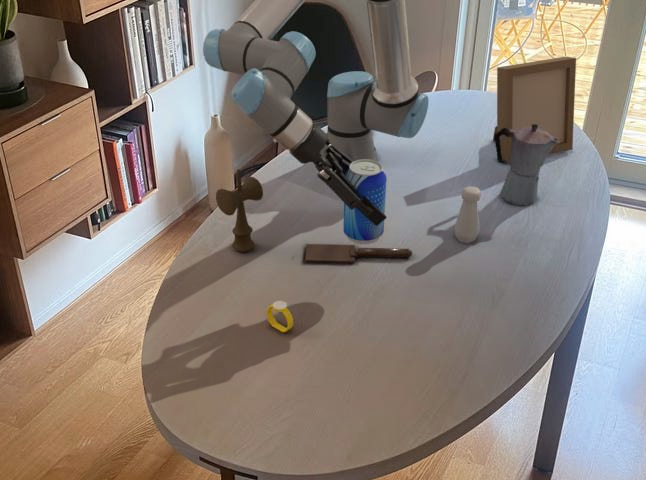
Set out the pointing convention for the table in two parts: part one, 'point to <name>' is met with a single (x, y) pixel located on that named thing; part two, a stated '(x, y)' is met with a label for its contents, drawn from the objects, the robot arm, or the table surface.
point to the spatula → (348, 253)
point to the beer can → (373, 187)
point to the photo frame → (537, 100)
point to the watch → (282, 307)
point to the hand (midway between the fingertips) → (380, 209)
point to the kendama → (240, 209)
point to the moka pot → (524, 162)
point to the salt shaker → (468, 216)
